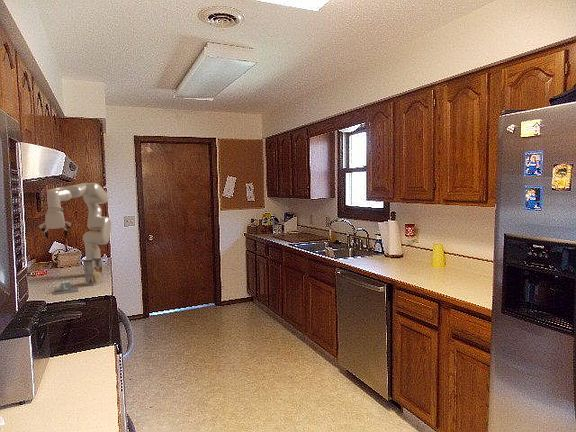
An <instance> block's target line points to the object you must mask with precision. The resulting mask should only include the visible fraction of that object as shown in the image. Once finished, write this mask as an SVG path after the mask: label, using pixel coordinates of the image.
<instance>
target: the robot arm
mask: <svg viewBox="0 0 576 432" xmlns="http://www.w3.org/2000/svg"><path fill="white" fill-rule="evenodd" d="M46 191H47V202H48V203H47V204H48V210H47V209H46V213H47V214H46V213H45V217H44V219H45V222H43V223H41V224H39V225H38V228H40V230H41V232H44V236H45V238H46V239H47V240H48V239H49V232H48V231H49V230H53V229H63V232H64V237H65V238H66V237H67V236H68V230H69V229H70V228H71V226H72V222H70V221H66V220H65V215H64V212H63V211H64V207H62V205H61V202H67V201H69V200H71V199H77V198H80V197H83V198H82V199H83V201H84V203H85V204H86V206H87V208H88V217H87V223H86V224H87V225H86V226H87V228H88V229H89V230H92V231H86V232H84V234H83V236H82V241H83V244H84V248H85V249H84V250H85V261H86V260H89V259H93V258H101V248H100V247H99V245H107V244H109V242H110V238H111V231H112V230H111V229H112V222H111V219H110V217H108V216H102V214H103V212H102V207H101V206H100V205H99V204H103V205H104V204H107V203H108V201H109V195H108V193H107V191H105V189H104V188H103V187H102V186H101V185H100V184H99V183H97V182H81V183H77V184H73V185H66V186H61V187H54V188H50V189H47V190H46ZM66 225H68V226H66ZM44 226H45V228H44ZM93 230H94V231H93ZM96 230H97V231H96ZM98 230H99V231H98ZM101 259H102V258H101ZM102 275H105V271H103V270H102Z"/></svg>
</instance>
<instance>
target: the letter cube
mask: <svg viewBox="0 0 576 432" xmlns="http://www.w3.org/2000/svg"><path fill="white" fill-rule="evenodd" d="M71 287H72V286H71V280H67V281H61V282H60V289H61V292H64V291H71Z"/></svg>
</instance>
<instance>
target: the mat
mask: <svg viewBox="0 0 576 432" xmlns="http://www.w3.org/2000/svg"><path fill="white" fill-rule="evenodd" d="M77 292H79V286H78V285H77V286H71V291H64V292H61V288H55V289H54V290H53V294H52V295H53V296H57V295H61V294H62V295H63V294H71V293H77Z"/></svg>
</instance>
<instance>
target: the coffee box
mask: <svg viewBox="0 0 576 432" xmlns="http://www.w3.org/2000/svg"><path fill="white" fill-rule="evenodd" d="M83 269H84V281H85V282H84V283H85V286H95V285H98V284H101V283H103V282H104V277H103V275H104V274H103V275H102V271H103V265H102V258H93V259H89V260H86V259H85V260H83Z"/></svg>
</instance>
